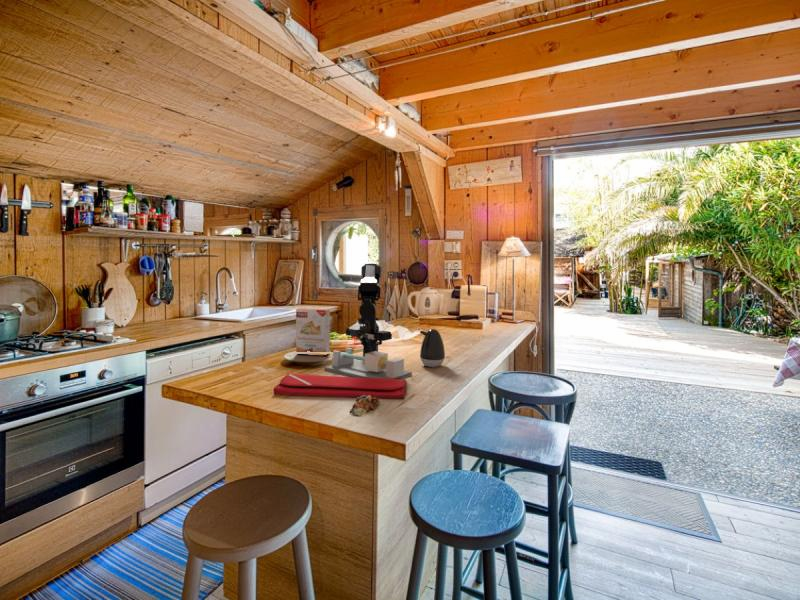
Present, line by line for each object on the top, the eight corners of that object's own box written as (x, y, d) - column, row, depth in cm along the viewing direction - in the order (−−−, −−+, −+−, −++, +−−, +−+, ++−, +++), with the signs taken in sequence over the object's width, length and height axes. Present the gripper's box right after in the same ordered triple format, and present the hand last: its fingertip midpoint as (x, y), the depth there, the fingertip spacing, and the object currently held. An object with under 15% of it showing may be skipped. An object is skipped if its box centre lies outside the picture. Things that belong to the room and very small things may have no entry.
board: (353, 362, 173) (353, 346, 173) (411, 375, 155) (411, 356, 155) (324, 370, 161) (324, 352, 160) (384, 384, 143) (384, 364, 142)
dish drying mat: (403, 400, 127) (404, 388, 127) (272, 396, 129) (272, 384, 129) (406, 385, 143) (406, 374, 143) (288, 382, 145) (288, 371, 145)
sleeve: (375, 366, 159) (375, 351, 159) (387, 369, 156) (387, 353, 155) (364, 369, 155) (364, 353, 154) (377, 372, 151) (377, 356, 150)
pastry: (346, 416, 114) (346, 404, 113) (358, 402, 125) (358, 390, 125) (371, 418, 113) (371, 406, 112) (380, 403, 124) (380, 392, 124)
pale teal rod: (342, 357, 168) (342, 348, 168) (398, 369, 151) (398, 358, 151) (335, 359, 165) (335, 349, 165) (391, 371, 148) (391, 360, 148)
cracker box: (295, 355, 185) (295, 308, 183) (301, 352, 191) (300, 307, 189) (325, 356, 183) (325, 309, 181) (330, 354, 189) (330, 308, 187)
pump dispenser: (420, 362, 176) (421, 326, 174) (445, 363, 174) (446, 327, 173) (418, 368, 166) (418, 330, 164) (444, 369, 164) (445, 331, 163)
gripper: (335, 314, 155) (335, 355, 156) (373, 319, 144) (372, 363, 145) (356, 312, 164) (355, 351, 165) (393, 316, 153) (392, 358, 154)
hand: (368, 355), depth 157 cm, fingers closed
